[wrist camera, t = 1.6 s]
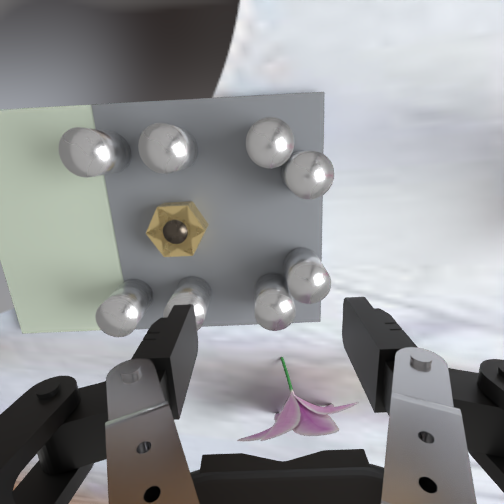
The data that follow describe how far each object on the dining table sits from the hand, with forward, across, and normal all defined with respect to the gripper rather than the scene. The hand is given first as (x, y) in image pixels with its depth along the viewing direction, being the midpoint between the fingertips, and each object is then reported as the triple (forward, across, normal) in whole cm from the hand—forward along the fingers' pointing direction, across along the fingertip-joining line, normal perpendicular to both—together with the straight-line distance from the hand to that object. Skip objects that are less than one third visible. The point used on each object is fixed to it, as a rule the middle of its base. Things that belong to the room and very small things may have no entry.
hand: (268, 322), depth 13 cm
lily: (+20, -3, +20) cm, 28 cm away
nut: (+19, +8, 0) cm, 20 cm away
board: (+20, +10, 0) cm, 22 cm away
